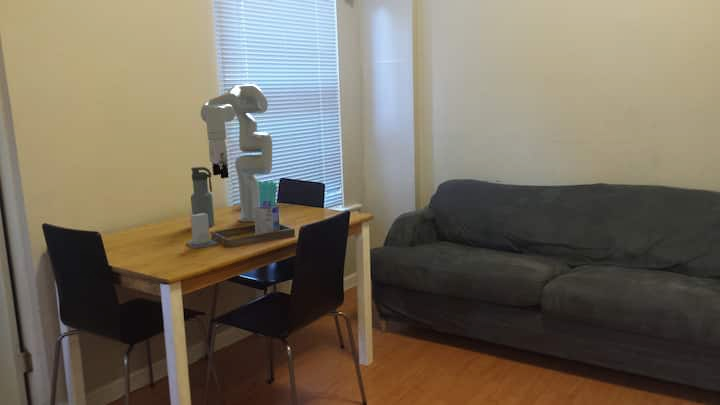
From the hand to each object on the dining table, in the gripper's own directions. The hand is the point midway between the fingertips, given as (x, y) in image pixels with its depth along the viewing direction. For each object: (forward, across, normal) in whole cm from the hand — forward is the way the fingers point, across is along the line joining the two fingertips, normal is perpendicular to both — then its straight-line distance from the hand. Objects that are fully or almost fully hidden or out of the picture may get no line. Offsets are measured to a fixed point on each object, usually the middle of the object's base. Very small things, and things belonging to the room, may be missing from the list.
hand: (220, 176), depth 251 cm
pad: (+26, +5, -13) cm, 30 cm away
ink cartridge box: (+27, +7, +16) cm, 32 cm away
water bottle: (+28, -30, 0) cm, 41 cm away
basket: (+30, -57, +39) cm, 75 cm away
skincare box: (+26, +5, -13) cm, 29 cm away
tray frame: (+27, +7, +9) cm, 29 cm away
